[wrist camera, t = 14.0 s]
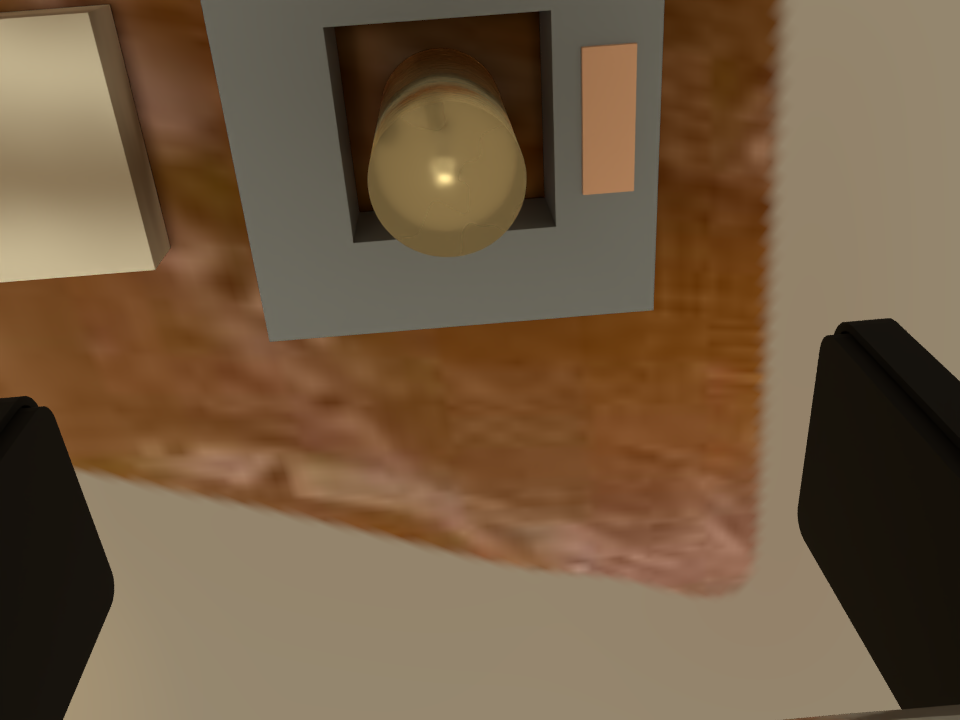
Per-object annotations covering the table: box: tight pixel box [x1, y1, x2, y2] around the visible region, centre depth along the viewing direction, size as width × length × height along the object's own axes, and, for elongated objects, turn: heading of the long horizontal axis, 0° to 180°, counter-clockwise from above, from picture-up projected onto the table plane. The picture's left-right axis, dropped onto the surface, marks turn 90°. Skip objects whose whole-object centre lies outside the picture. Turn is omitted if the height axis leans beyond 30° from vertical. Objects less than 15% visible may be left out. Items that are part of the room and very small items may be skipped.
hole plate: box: [201, 0, 665, 342], centre depth 27 cm, size 13×13×3 cm
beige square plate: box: [0, 4, 170, 282], centre depth 28 cm, size 8×8×2 cm
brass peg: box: [368, 48, 527, 257], centre depth 25 cm, size 4×4×8 cm
